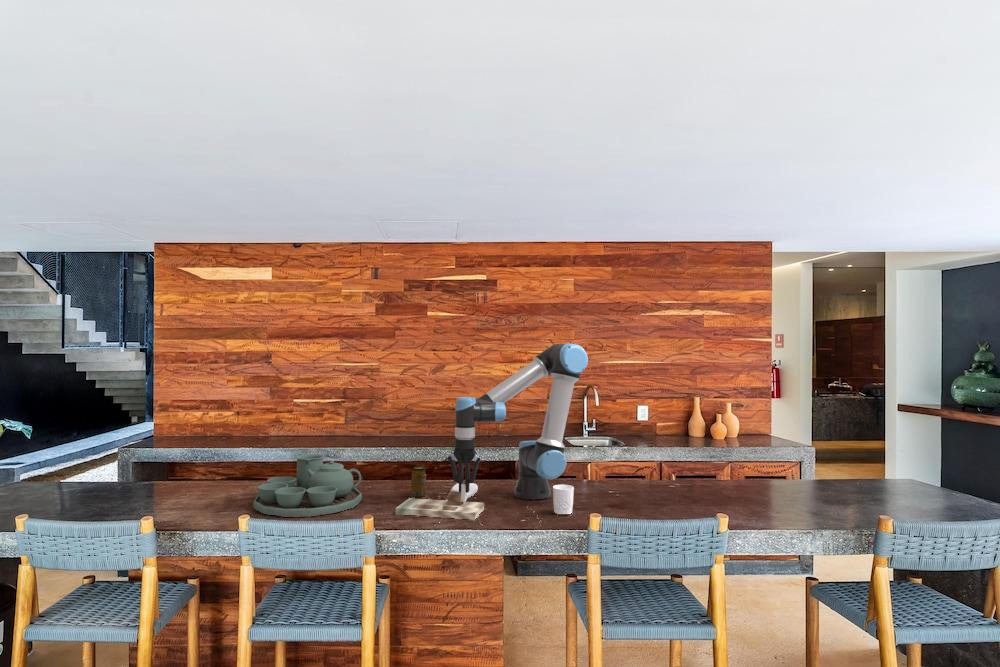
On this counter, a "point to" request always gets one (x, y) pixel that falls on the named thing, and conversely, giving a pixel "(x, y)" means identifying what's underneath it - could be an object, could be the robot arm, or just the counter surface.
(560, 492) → the white cup
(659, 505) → the counter surface
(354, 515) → the counter surface
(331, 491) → the tea set
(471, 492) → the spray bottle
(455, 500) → the walnut block
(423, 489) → the condiment
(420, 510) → the trap deck
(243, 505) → the counter surface
